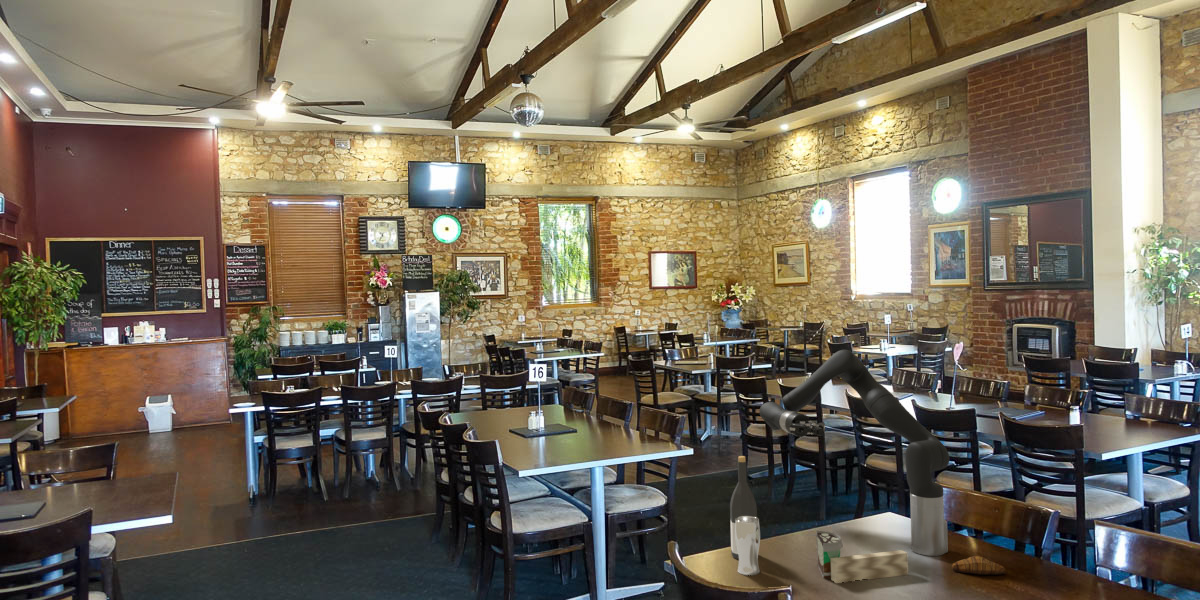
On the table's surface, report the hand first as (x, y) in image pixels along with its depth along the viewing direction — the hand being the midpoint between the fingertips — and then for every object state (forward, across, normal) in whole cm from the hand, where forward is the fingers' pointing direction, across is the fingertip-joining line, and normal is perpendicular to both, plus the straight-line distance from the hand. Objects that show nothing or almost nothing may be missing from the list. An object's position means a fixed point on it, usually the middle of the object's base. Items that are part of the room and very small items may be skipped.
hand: (821, 432), depth 230 cm
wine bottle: (+3, -28, +35) cm, 45 cm away
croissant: (+34, +28, +36) cm, 56 cm away
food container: (+22, -10, +35) cm, 43 cm away
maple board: (+28, -2, +35) cm, 45 cm away
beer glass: (+15, -32, +35) cm, 50 cm away
